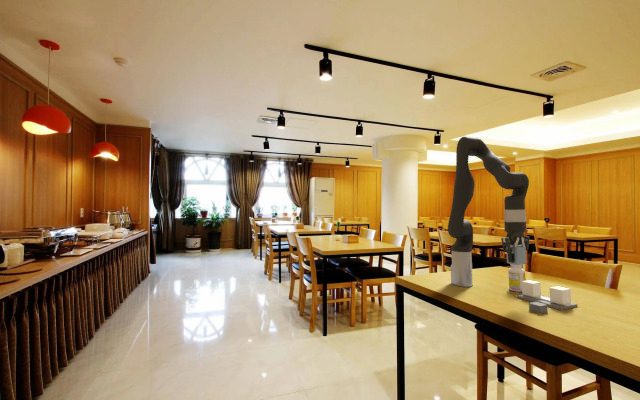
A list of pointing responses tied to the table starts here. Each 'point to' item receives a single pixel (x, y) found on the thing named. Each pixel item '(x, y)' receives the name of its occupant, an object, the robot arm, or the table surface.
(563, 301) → the din rail
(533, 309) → the dark grey block
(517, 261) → the block
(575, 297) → the table surface
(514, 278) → the supplement bottle
